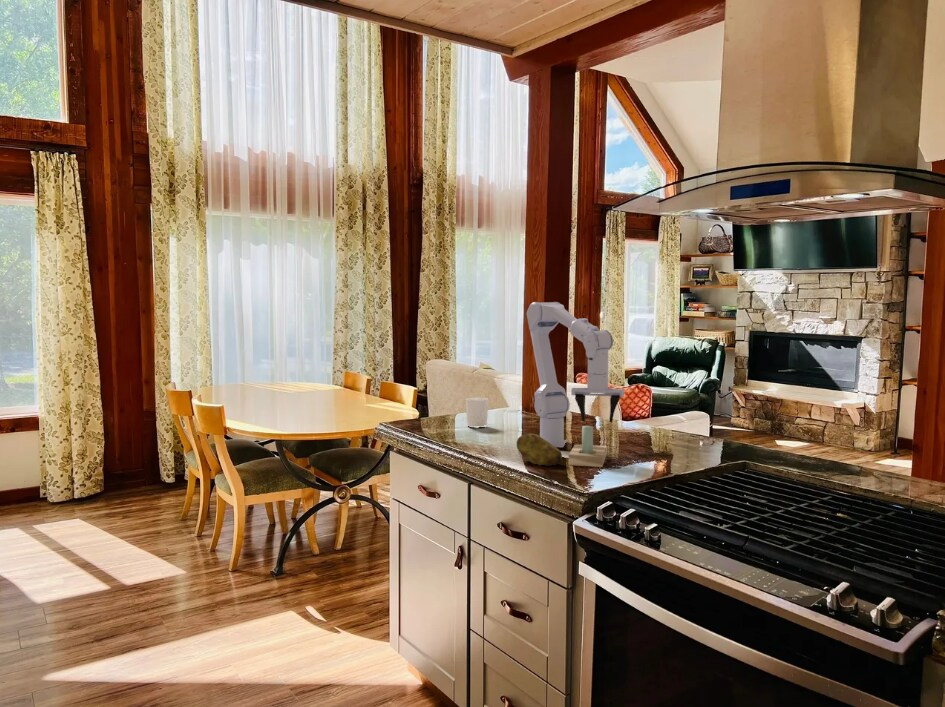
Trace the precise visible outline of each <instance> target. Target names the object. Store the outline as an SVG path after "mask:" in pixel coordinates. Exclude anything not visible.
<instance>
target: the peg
mask: <svg viewBox="0 0 945 707" xmlns="http://www.w3.org/2000/svg"><path fill="white" fill-rule="evenodd" d="M581 445H582V453H584V454H593V445H594V426H592V425H582V426H581Z"/></svg>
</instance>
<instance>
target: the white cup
mask: <svg viewBox="0 0 945 707" xmlns="http://www.w3.org/2000/svg"><path fill="white" fill-rule="evenodd" d="M465 410H466V413H465V414H466V421H467V422H466V423H467V427H468V426H484V425H487V424H488V413H489V398H488V397H479V396H476V397H467V398H465ZM487 426H488V425H487Z"/></svg>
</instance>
